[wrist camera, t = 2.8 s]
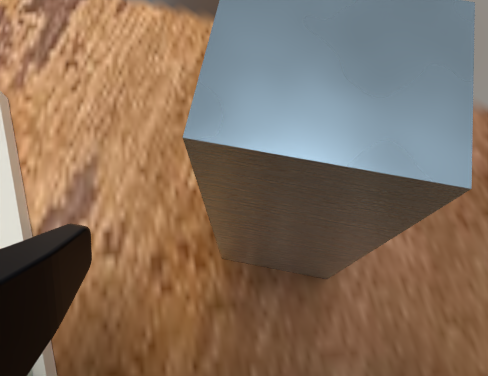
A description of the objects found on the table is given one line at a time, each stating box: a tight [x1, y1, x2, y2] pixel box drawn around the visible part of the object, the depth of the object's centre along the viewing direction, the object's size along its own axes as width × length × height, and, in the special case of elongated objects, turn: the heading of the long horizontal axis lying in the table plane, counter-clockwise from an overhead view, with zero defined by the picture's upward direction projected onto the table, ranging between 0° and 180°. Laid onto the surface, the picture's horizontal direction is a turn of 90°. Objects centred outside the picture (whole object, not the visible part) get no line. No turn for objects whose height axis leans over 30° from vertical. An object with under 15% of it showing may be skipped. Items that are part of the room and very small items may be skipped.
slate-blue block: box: [183, 0, 475, 279], centre depth 14 cm, size 4×5×13 cm
